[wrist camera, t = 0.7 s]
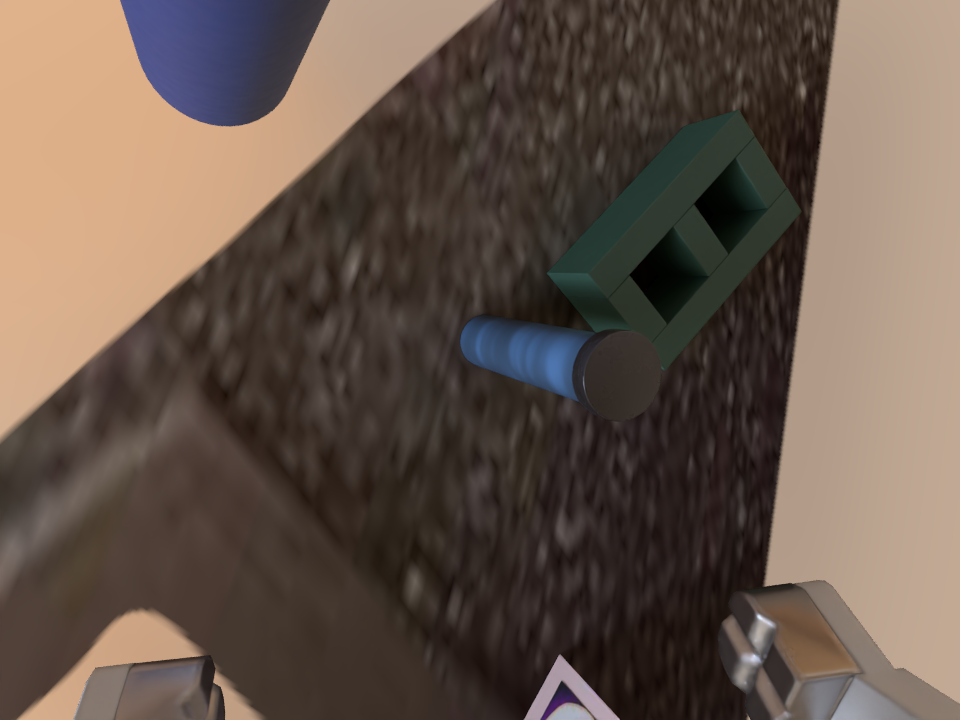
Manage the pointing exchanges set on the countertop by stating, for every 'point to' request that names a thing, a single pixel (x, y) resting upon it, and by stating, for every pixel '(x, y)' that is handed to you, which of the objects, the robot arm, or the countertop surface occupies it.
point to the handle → (569, 362)
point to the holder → (679, 236)
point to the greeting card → (568, 697)
